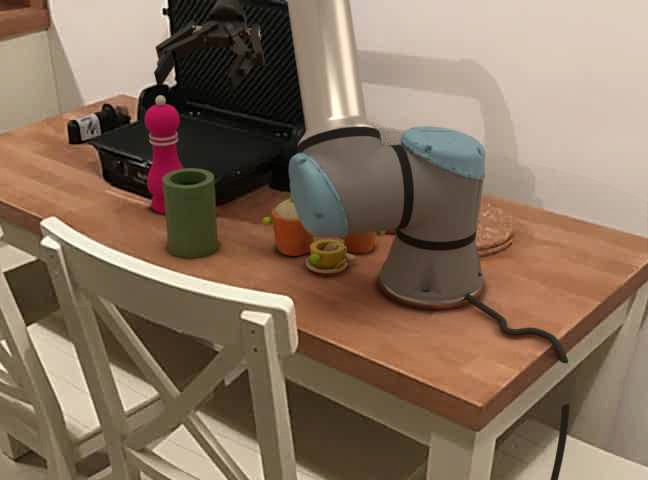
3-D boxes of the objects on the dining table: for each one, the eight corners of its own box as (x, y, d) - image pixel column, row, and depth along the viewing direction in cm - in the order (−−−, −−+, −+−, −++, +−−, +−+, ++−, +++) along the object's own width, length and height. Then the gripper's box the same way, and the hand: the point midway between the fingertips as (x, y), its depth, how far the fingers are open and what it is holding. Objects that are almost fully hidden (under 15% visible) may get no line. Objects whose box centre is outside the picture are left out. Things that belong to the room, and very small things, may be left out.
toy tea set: (328, 284, 140) (330, 225, 134) (253, 255, 149) (252, 199, 143) (424, 227, 155) (429, 173, 149) (351, 204, 164) (353, 152, 158)
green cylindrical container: (226, 250, 150) (222, 180, 143) (181, 262, 147) (175, 191, 140) (204, 232, 156) (200, 164, 149) (160, 243, 153) (154, 174, 146)
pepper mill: (141, 210, 164) (130, 99, 153) (163, 196, 169) (153, 87, 158) (176, 217, 161) (167, 104, 150) (196, 202, 167) (189, 91, 155)
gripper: (301, 35, 166) (265, 105, 155) (176, 30, 174) (133, 96, 163) (297, -4, 160) (259, 65, 149) (168, -8, 168) (122, 58, 157)
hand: (193, 81), depth 156 cm, fingers open, 13 cm apart
